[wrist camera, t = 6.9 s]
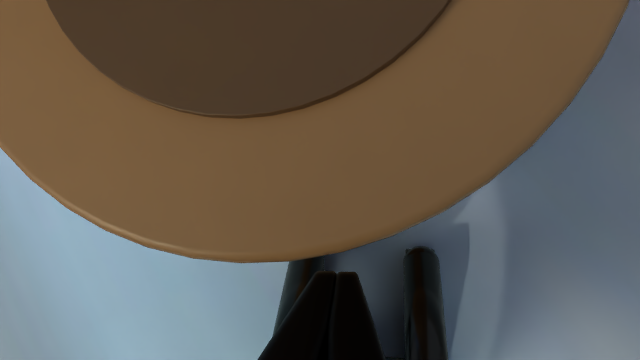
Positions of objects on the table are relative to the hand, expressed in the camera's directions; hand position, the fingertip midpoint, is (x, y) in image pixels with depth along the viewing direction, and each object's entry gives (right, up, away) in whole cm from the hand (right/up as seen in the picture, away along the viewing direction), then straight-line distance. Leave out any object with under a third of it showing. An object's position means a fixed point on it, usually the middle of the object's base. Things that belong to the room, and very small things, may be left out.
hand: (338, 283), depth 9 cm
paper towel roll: (+1, -1, +6) cm, 6 cm away
